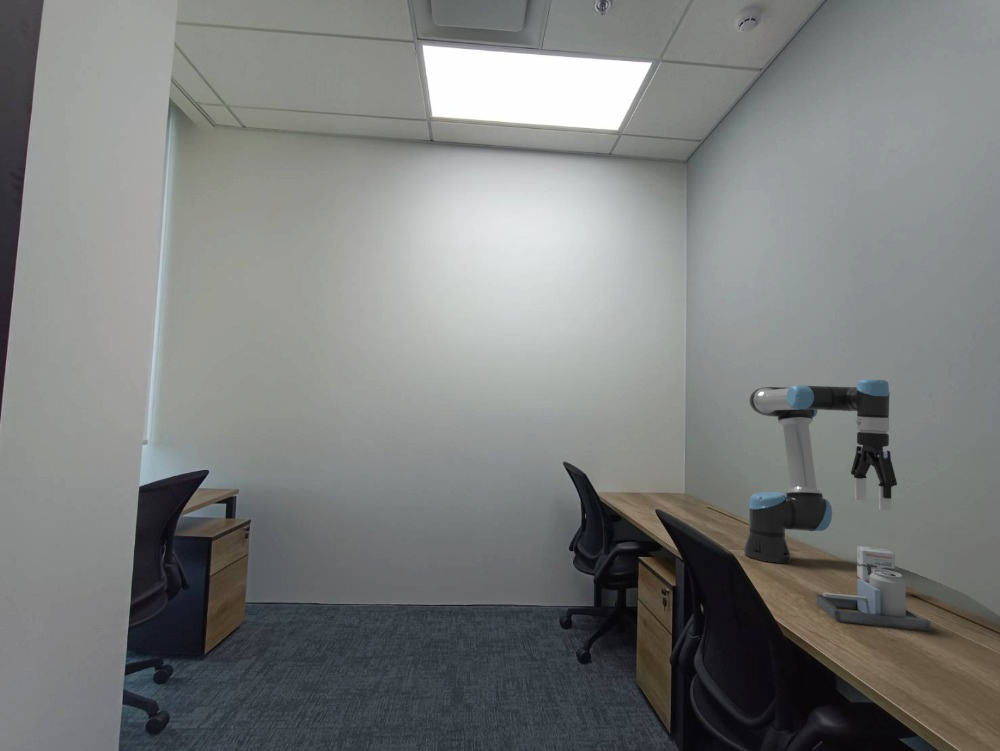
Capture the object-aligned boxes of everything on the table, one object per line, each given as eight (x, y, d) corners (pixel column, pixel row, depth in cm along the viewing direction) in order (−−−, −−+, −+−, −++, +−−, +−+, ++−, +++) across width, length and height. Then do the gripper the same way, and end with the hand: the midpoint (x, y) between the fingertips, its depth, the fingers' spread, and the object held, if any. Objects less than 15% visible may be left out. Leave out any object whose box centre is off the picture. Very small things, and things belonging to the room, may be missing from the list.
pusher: (816, 604, 137) (816, 574, 137) (862, 609, 135) (862, 579, 135) (831, 617, 128) (831, 585, 129) (880, 622, 126) (880, 590, 127)
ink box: (861, 588, 152) (861, 549, 153) (856, 583, 157) (856, 545, 158) (896, 593, 149) (895, 553, 150) (889, 588, 154) (889, 549, 155)
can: (912, 626, 125) (912, 578, 126) (879, 622, 127) (878, 574, 128) (895, 615, 133) (895, 569, 133) (864, 611, 134) (863, 566, 135)
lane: (816, 604, 138) (816, 594, 138) (902, 613, 134) (902, 603, 134) (836, 621, 127) (836, 611, 127) (930, 631, 123) (930, 621, 123)
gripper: (838, 428, 159) (838, 495, 158) (881, 434, 135) (880, 513, 134) (865, 430, 158) (864, 497, 157) (913, 435, 133) (912, 515, 132)
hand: (872, 504), depth 145 cm, fingers open, 13 cm apart
